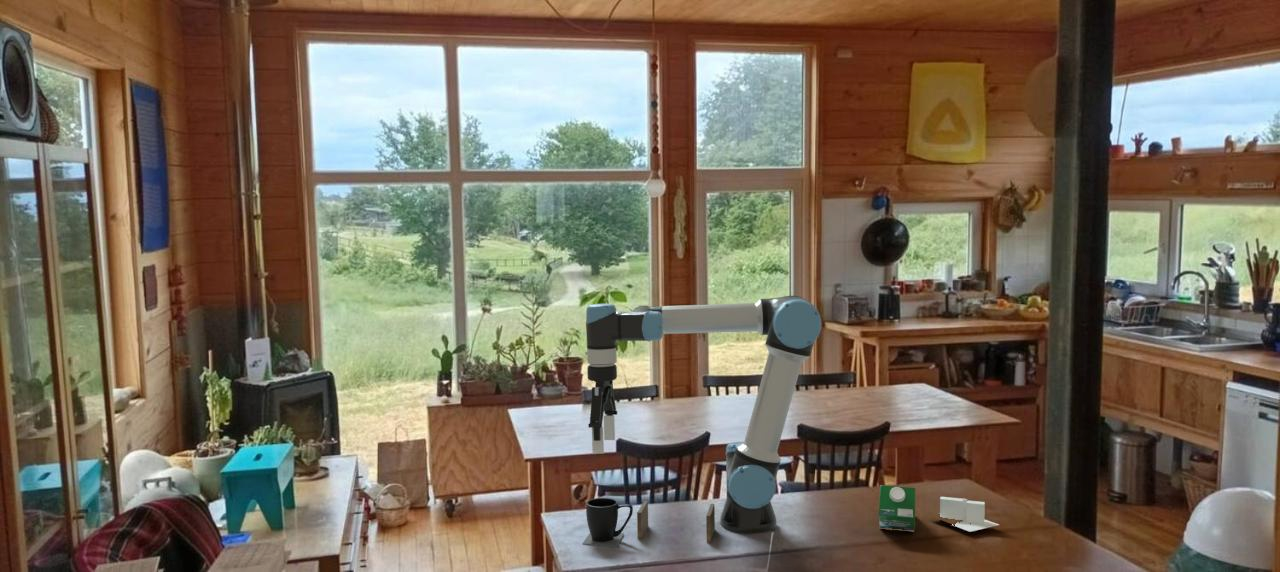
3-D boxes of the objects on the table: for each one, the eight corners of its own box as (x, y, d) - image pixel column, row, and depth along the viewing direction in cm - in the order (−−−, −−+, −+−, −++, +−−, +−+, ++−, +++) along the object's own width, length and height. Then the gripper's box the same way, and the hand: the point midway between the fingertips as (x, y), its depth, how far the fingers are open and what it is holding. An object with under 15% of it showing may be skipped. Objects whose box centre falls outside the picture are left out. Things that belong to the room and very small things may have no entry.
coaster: (624, 535, 239) (624, 533, 239) (616, 547, 231) (616, 545, 230) (590, 533, 241) (590, 531, 241) (582, 545, 232) (582, 543, 232)
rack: (714, 529, 243) (714, 503, 242) (710, 542, 233) (710, 515, 233) (644, 526, 246) (644, 500, 246) (637, 538, 237) (637, 512, 236)
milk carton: (914, 516, 258) (915, 484, 238) (914, 547, 254) (915, 518, 233) (881, 513, 261) (879, 481, 241) (880, 544, 256) (878, 514, 236)
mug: (631, 544, 231) (630, 507, 230) (584, 543, 232) (583, 506, 231) (634, 533, 239) (634, 497, 238) (589, 532, 240) (588, 497, 240)
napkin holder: (927, 516, 253) (927, 496, 252) (956, 509, 258) (956, 489, 258) (970, 532, 239) (970, 510, 239) (1000, 524, 245) (1000, 503, 245)
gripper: (598, 357, 246) (600, 434, 248) (575, 372, 222) (578, 458, 223) (625, 357, 245) (627, 435, 246) (605, 372, 220) (607, 458, 222)
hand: (604, 446), depth 235 cm, fingers open, 13 cm apart
